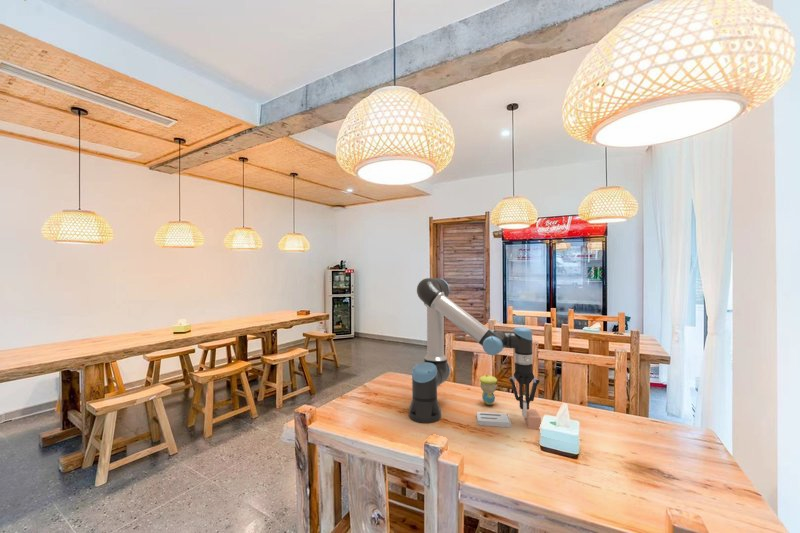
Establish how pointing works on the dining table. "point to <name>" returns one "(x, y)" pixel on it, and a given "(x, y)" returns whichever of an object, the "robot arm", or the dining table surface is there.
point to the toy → (488, 388)
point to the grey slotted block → (493, 419)
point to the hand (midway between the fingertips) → (524, 416)
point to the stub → (533, 419)
